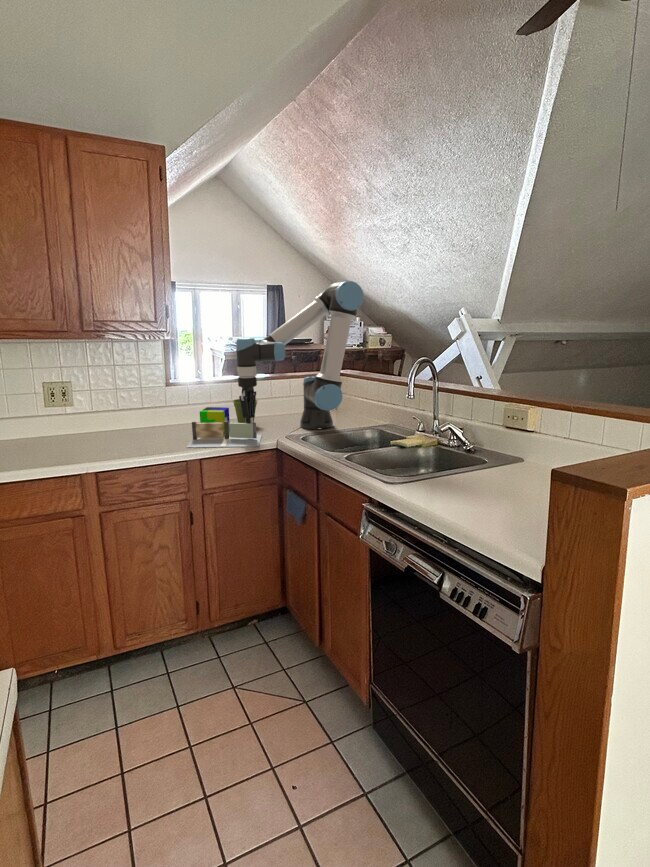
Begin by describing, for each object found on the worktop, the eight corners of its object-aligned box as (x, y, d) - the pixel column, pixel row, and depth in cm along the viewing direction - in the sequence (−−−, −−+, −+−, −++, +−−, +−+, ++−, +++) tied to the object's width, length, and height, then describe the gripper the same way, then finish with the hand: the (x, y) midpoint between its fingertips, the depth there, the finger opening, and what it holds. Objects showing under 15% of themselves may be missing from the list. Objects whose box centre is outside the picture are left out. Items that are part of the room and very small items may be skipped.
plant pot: (257, 426, 230) (256, 402, 227) (231, 426, 230) (230, 402, 227) (260, 421, 241) (259, 398, 238) (235, 421, 241) (234, 398, 239)
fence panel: (257, 437, 207) (256, 422, 205) (256, 438, 205) (255, 423, 204) (231, 436, 208) (230, 421, 207) (229, 437, 207) (229, 422, 205)
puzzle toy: (229, 429, 226) (228, 407, 223) (223, 434, 216) (222, 412, 214) (208, 428, 227) (207, 407, 224) (200, 434, 217) (199, 411, 215)
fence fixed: (229, 438, 209) (228, 421, 207) (229, 439, 207) (228, 422, 205) (193, 439, 208) (192, 421, 206) (192, 440, 207) (191, 422, 205)
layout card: (261, 435, 214) (261, 434, 214) (258, 446, 197) (258, 445, 197) (195, 436, 213) (195, 435, 213) (186, 447, 195) (186, 447, 195)
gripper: (244, 374, 210) (247, 428, 216) (232, 378, 198) (235, 436, 204) (261, 374, 208) (263, 429, 214) (249, 379, 196) (252, 437, 202)
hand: (249, 432), depth 209 cm, fingers closed
